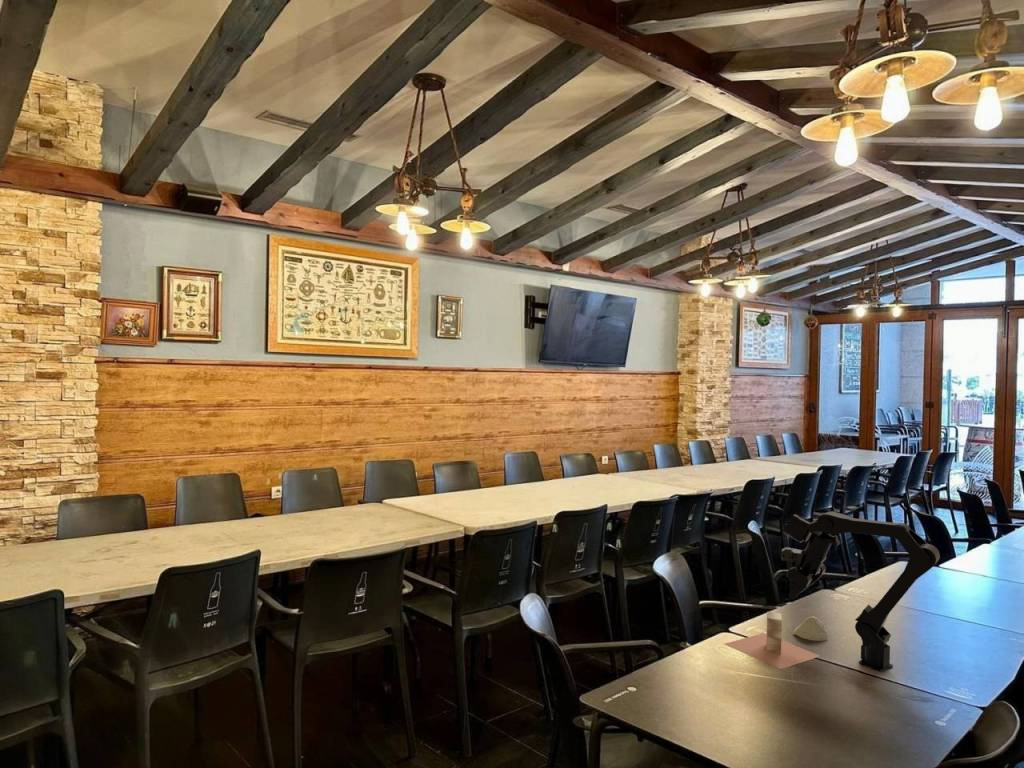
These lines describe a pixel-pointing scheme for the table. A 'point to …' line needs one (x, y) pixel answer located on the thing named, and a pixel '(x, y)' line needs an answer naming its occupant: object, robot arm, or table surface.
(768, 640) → the birch block
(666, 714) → the table surface
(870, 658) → the robot arm
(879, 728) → the table surface
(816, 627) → the seashell
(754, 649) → the rubber mat
